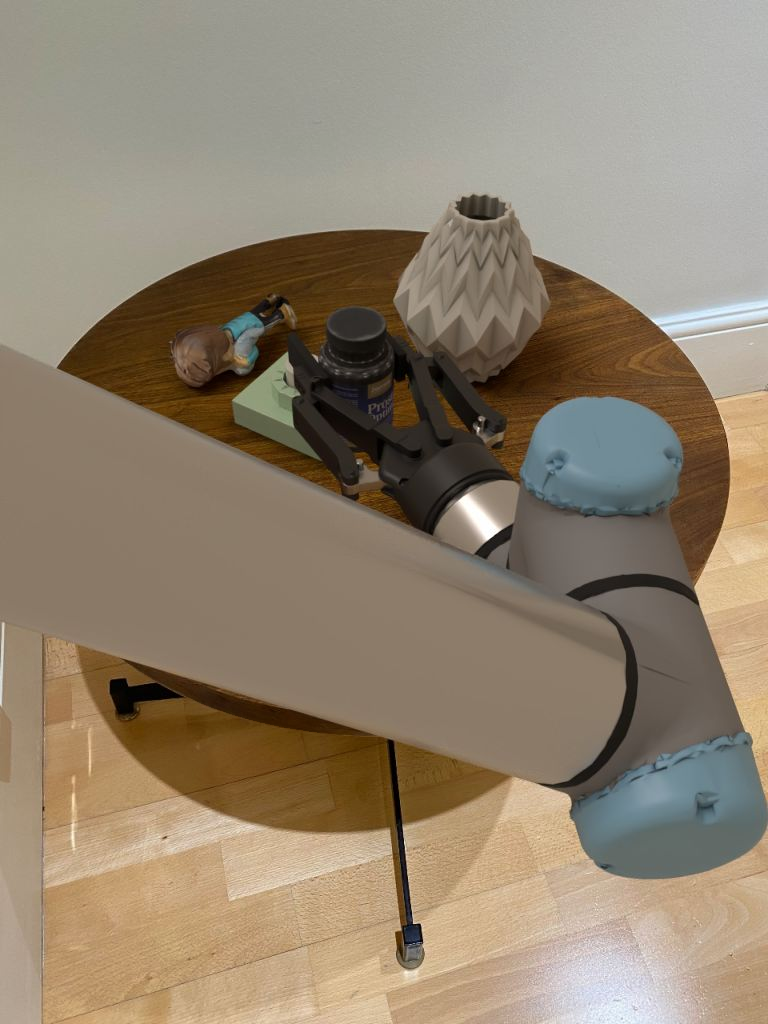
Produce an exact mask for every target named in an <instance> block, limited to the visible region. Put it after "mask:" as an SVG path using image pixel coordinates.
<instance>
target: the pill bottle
mask: <svg viewBox="0 0 768 1024" xmlns="http://www.w3.org/2000/svg"><path fill="white" fill-rule="evenodd" d="M387 324H388V323H387V320H386V318H385V316H384V315H383V314H382V313H381V312H380V311H378V310H376V309H373V308H371V307H367V306H357V305H355V306H353V305H352V306H346V307H342V308H339V309H337V310H335V311H333V312H332V313H330V314H329V316H328V317H327V319H326V322H325V336H326V339H325V342H323V344H321V347H320V348H319V350H318V355H317V357H318V363H319V364H320V366H321V367H322V368H323V370H324V371H325V372H326V374H327V375H328V376H329V384H330V390H332V391H333V392H335V393H336V394H338V395H339V396H341V397H342V398H344V399H345V400H347V401H348V402H350V403H351V404H353V405H354V406H356V407H357V408H359V409H360V410H362V411H363V412H365V413H366V414H368V415H369V416H371V417H372V418H374V419H375V420H377V421H378V422H382V421H386V422H388V423H389V424H391V425H392V426H394V401H395V400H394V397H395V379H394V368H395V355H394V351H393V349H392V347H391V345H390V344H389V343H388V342H387V341H386V337H387V331H388V330H387V329H388V325H387ZM336 433H337V432H336ZM337 434H338V433H337ZM338 435H339V436H340V437H341V438H342V439H343V441H344V442H345V443H346V444H347V445H348V446H349V448H350V449H351V450H352V452H353V454H354V453H355V454H357V453H358V454H361V453H365V452H364V451H363V450H361V449H360V448H358V447H357V446H355V445H354V444H352V443H351V442H350V441H348V440H347V439H345V438H344V437H342V436H341V435H340V434H338Z"/></svg>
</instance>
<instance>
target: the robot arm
mask: <svg viewBox="0 0 768 1024" xmlns="http://www.w3.org/2000/svg"><path fill="white" fill-rule="evenodd" d="M386 341H387V342H388V343H389V344H390V345H391V347H392V349H393V351H394V355H395V368H394V381H396V383H397V384H398V383H401V382H404V381H406V380H407V381H408V382H407V390H410V392H411V395H412V399H413V402H414V405H415V410H416V412H417V416H418V418H419V421H418V422H416V423H415V424H414V425H412V426H409V427H401V428H397V427H396V426H394V425H393V426H392V425H391V424H389V423H388V422H386V421H382V422H378V421H377V420H375V419H374V418H372V417H371V416H369V415H368V414H366V413H365V412H363V411H362V410H360V409H359V408H357V407H356V406H354V405H353V404H351V403H350V402H348V401H347V400H345V399H344V398H342V397H341V396H339V395H338V394H336V393H335V392H333V391H332V390H330V384H329V376H328V375H327V374H326V372H325V371H324V370H323V368H322V367H321V366H320V364H319V363H318V362H317V360H316V359H315V358H314V357H313V355H314V354H313V353H311V351H310V350H309V348H308V347H307V346H306V345H305V343H304V342H303V341H302V339H301V338H300V336H299V335H298V334H297V333H296V332H292V333H288V334H286V344H287V345H286V346H287V352H288V359H289V363H290V364H291V365H292V367H293V375H294V386H295V388H296V389H297V390H298V392H299V393H300V395H298V396H295V397H293V398H292V413H293V425H294V427H295V429H296V430H297V431H298V432H299V433H300V435H301V436H302V437H303V438H304V440H305V441H306V442H307V443H308V444H309V446H310V447H311V448H312V449H313V451H314V452H315V453H316V454H317V455H318V457H319V458H320V459H321V460H322V461H321V462H322V463H323V464H324V466H325V467H326V468H327V469H328V471H329V472H330V473H331V474H332V475H333V476H334V478H335V479H336V480H337V481H338V485H339V489H340V493H341V494H340V493H337V492H336V491H333V490H331V489H328V488H327V487H324V486H323V485H320V484H318V483H315V482H313V481H311V480H308V479H306V478H304V477H301V476H299V475H297V474H295V473H292V472H291V471H288V470H286V469H283V468H282V467H279V466H277V465H274V464H273V463H270V462H268V461H266V460H264V459H261V458H259V457H257V456H254V455H252V454H250V453H247V452H246V451H243V450H241V449H239V448H236V447H234V446H232V445H230V444H227V443H225V442H223V441H221V440H218V439H217V438H214V437H212V436H210V435H207V434H205V433H203V432H201V431H199V430H196V429H194V428H191V427H189V426H188V425H185V424H183V423H181V422H178V421H177V420H174V419H171V418H169V417H167V416H165V415H163V414H160V413H158V412H155V411H154V410H151V409H149V408H147V407H144V406H142V405H140V404H138V403H135V402H133V401H131V400H128V399H126V398H124V397H122V396H120V395H118V394H115V393H113V392H110V391H109V390H106V389H104V388H102V387H100V386H97V385H95V384H93V383H91V382H88V381H86V380H84V379H82V378H80V377H77V376H75V375H72V374H71V373H69V372H66V371H63V370H61V369H59V368H57V367H54V366H53V365H50V364H48V363H46V362H43V361H41V360H39V359H37V358H34V357H32V356H30V355H28V354H25V353H24V352H21V351H19V350H17V349H14V348H13V347H10V346H7V345H6V344H3V343H1V342H0V622H1V623H4V624H7V625H11V626H14V627H17V628H21V629H24V630H27V631H30V632H34V633H37V634H40V635H43V636H47V637H49V638H54V639H56V640H60V641H64V642H66V643H70V644H73V645H77V646H80V647H83V648H86V649H90V650H93V651H97V652H98V653H99V652H100V653H102V654H107V655H110V656H113V657H116V658H120V659H123V660H126V661H129V662H133V663H136V664H140V665H143V666H146V667H150V668H152V669H155V670H160V671H163V672H165V673H170V674H172V675H175V676H179V677H183V678H184V679H185V678H186V679H189V680H192V681H196V682H198V683H202V684H206V685H209V686H212V687H216V688H218V689H223V690H225V691H228V692H232V693H235V694H239V695H242V696H245V697H248V698H252V699H256V700H258V701H261V702H265V703H268V704H271V705H275V706H278V707H282V708H285V709H287V710H292V711H295V712H298V713H301V714H304V715H308V716H311V717H315V718H318V719H320V720H321V719H322V720H324V721H328V722H331V723H333V724H334V723H335V724H337V725H340V726H341V725H342V726H344V727H347V728H351V729H355V730H358V731H361V732H364V733H367V734H371V735H374V736H377V737H380V738H384V739H387V740H391V741H393V742H397V743H400V744H403V745H407V746H410V747H414V748H417V749H420V750H424V751H427V752H431V753H434V754H437V755H441V756H443V757H447V758H450V759H454V760H456V761H460V762H463V763H467V764H470V765H473V766H476V767H480V768H483V769H486V770H490V771H493V772H497V773H499V774H503V775H505V776H506V775H507V776H508V777H509V776H510V777H512V778H516V779H519V780H523V781H526V782H530V783H532V784H536V785H539V786H541V787H544V788H547V789H550V790H553V791H556V792H559V793H564V794H565V795H567V796H568V797H569V798H570V802H571V806H570V809H569V811H568V813H569V819H570V820H571V821H572V822H573V823H574V826H575V830H576V834H577V837H578V840H579V843H580V847H581V849H582V850H583V852H584V853H585V854H586V856H587V857H588V858H589V859H590V860H592V861H593V862H594V864H595V866H596V867H597V868H599V869H601V870H602V871H604V872H606V873H608V874H610V875H613V876H617V877H621V878H625V879H634V880H671V879H677V878H678V879H679V878H684V877H688V876H694V875H699V874H702V873H705V872H710V871H712V870H715V869H718V868H720V867H723V866H725V865H728V864H729V863H732V862H733V861H736V860H738V859H740V858H741V857H743V856H744V855H747V854H748V853H749V852H750V851H751V850H753V849H754V848H755V847H756V846H757V845H758V844H759V843H760V842H761V841H762V838H763V837H764V835H765V833H766V832H767V828H768V802H767V798H766V794H765V792H764V788H763V784H762V779H761V776H760V773H759V770H758V769H759V768H758V766H757V763H756V762H757V761H756V758H755V755H754V751H753V747H752V746H753V744H754V740H753V737H752V735H751V733H750V732H748V731H746V729H745V727H744V725H743V722H742V719H741V717H740V714H739V711H738V708H737V705H736V702H735V700H734V696H733V695H732V691H731V689H730V686H729V683H728V680H727V678H726V675H725V671H724V669H723V666H722V663H721V661H720V660H721V659H720V658H719V655H718V652H717V650H716V647H715V644H714V641H713V638H712V635H711V633H710V630H709V628H708V625H707V622H706V619H705V616H704V613H703V610H702V609H701V605H700V600H699V597H698V594H697V591H696V589H695V586H694V583H693V580H692V578H691V574H690V571H689V568H688V565H687V563H686V560H685V558H684V554H683V552H682V549H681V545H680V543H679V540H678V537H677V534H676V531H675V529H674V526H673V524H672V519H671V513H670V511H671V510H670V508H671V504H673V502H674V500H675V498H676V497H678V495H679V492H680V489H679V487H680V482H679V481H680V477H681V472H682V468H683V463H684V450H683V446H682V442H681V440H680V437H679V436H678V435H677V432H676V431H675V430H674V429H673V427H672V426H671V425H670V424H669V423H668V421H667V420H665V418H663V417H662V416H660V415H659V414H658V413H656V412H655V411H653V410H652V409H650V408H648V407H646V406H644V405H642V404H639V403H637V402H634V401H632V400H628V399H625V398H621V397H615V396H604V397H597V396H591V397H590V396H581V397H580V396H579V397H575V398H572V399H568V400H565V401H563V402H561V403H558V404H557V405H555V406H554V407H552V408H550V409H549V410H548V411H547V412H546V413H544V414H543V415H542V417H541V418H540V419H539V420H538V422H537V424H536V425H535V427H534V429H533V432H532V435H531V438H530V441H529V444H528V448H527V452H526V454H525V458H524V461H522V464H521V467H520V468H519V469H520V470H519V478H520V483H518V482H517V481H516V480H515V478H514V477H513V475H512V474H511V473H510V472H509V471H508V469H507V468H506V467H505V466H504V465H503V464H502V463H501V461H500V460H499V459H498V458H497V457H496V456H495V454H494V453H493V452H492V451H491V450H490V449H492V450H500V449H502V448H503V447H504V445H505V438H506V433H507V424H508V418H507V417H506V416H505V415H504V414H502V413H500V412H499V411H498V410H496V409H494V408H493V407H492V406H489V405H488V403H487V402H486V401H485V400H484V399H483V397H482V396H481V395H480V394H479V392H478V391H477V390H476V389H475V387H474V386H473V385H472V382H471V383H470V382H469V381H468V380H467V378H466V377H465V376H464V375H463V373H462V372H461V371H460V370H459V368H458V367H457V366H456V364H455V363H454V362H453V361H452V359H451V358H450V357H449V356H448V354H447V353H445V352H443V351H437V352H435V353H434V354H433V357H424V356H423V355H422V354H420V353H418V352H416V351H415V349H414V348H413V347H412V346H411V345H410V343H409V342H407V340H406V339H405V338H404V337H402V336H401V335H397V336H392V334H390V332H389V331H388V330H387V337H386ZM312 354H313V355H312ZM406 378H408V379H406ZM436 389H437V390H438V391H439V393H440V395H441V396H442V397H443V399H445V401H446V402H447V404H448V405H449V407H451V409H452V410H453V412H454V413H455V415H456V416H457V417H458V419H459V420H460V421H461V423H462V424H463V425H464V426H465V428H466V430H463V429H461V428H457V427H454V426H453V425H451V424H450V423H449V420H448V417H447V414H446V411H445V409H444V406H443V404H441V403H440V400H439V397H438V395H437V391H436ZM467 430H468V431H467ZM336 432H337V433H338V434H340V435H341V436H342V437H344V438H345V439H347V440H348V441H350V442H351V443H352V444H354V445H355V446H357V447H358V448H360V449H361V450H363V451H364V452H363V453H366V454H367V455H368V457H369V459H370V461H371V462H372V463H373V464H374V465H375V466H377V467H378V469H377V470H372V469H370V468H369V467H368V466H367V464H365V463H364V459H362V458H356V455H355V454H354V453H353V452H352V450H351V449H350V448H349V446H348V445H347V444H346V443H345V442H344V441H343V439H342V438H341V437H340V436H339V435H338V434H337V433H336ZM373 491H380V492H381V493H382V494H383V495H385V496H387V497H388V498H391V499H393V500H394V501H395V502H396V503H397V505H398V506H399V508H400V510H401V511H402V513H403V515H404V516H405V518H406V519H407V521H408V522H409V524H407V523H405V522H403V521H401V520H399V519H397V518H393V517H392V516H389V515H387V514H385V513H382V512H380V511H378V510H375V509H374V508H371V507H369V506H367V505H364V504H362V503H360V502H357V501H358V500H359V499H360V493H366V492H373Z"/></svg>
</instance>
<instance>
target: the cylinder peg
mask: <svg viewBox="0 0 768 1024" xmlns="http://www.w3.org/2000/svg"><path fill="white" fill-rule="evenodd" d="M311 354H312V355H313V357H314V358H315V359H316V360H317V362H318V355H316V354H313V353H311ZM285 369H286V381H287V384H288V386H289V387H291V388H293V389H296V388H295V386H294V375H293V367H292V365H291V364H290V363H289V359H287V360H286V363H285ZM296 390H297V389H296Z"/></svg>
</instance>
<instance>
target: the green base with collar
mask: <svg viewBox="0 0 768 1024" xmlns="http://www.w3.org/2000/svg"><path fill="white" fill-rule="evenodd" d="M287 359H288V351H286V352H285V353H284V354H283V355H281V356H280V357H279V358H278V359H277V360H276V361H275V362H274V363H272V364H271V365H270V366H269V367H268V368H267V369H266V370H265V371H264V372H262V373H261V374H260V375H259V376H258V377H257V378H256V379H254V380H253V381H252V382H251V383H250V384H248V385H247V386H246V387H245V388H244V389H243V390H242V391H240V392H239V393H238V394H237V395H236V396H235V397H234V398H233V399H231V404H232V405H231V406H232V411H233V419H234V420H233V421H234V423H235V424H237V425H239V426H241V427H243V428H246V429H248V430H250V431H253V432H255V433H257V434H258V435H261V436H264V437H266V438H268V439H270V440H272V441H276V442H277V443H280V444H282V445H283V446H287V447H288V448H290V449H293V450H295V451H298V452H299V453H302V454H304V455H307V456H308V457H311V458H313V459H315V460H317V461H320V462H322V460H321V459H320V458H319V457H318V455H317V454H316V453H315V452H314V451H313V449H312V448H311V447H310V446H309V444H308V443H307V442H306V441H305V440H304V438H303V437H302V436H301V435H300V433H299V432H298V431H297V430H296V429H295V427H294V425H293V413H292V398H293V397H295V396H298V395H300V393H299V392H298V390H296V389H293V388H291V387H289V386H288V384H287V381H286V369H285V363H286V360H287Z"/></svg>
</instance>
